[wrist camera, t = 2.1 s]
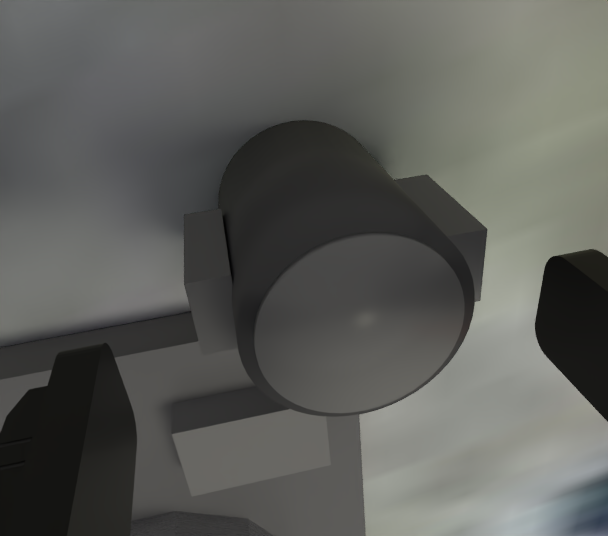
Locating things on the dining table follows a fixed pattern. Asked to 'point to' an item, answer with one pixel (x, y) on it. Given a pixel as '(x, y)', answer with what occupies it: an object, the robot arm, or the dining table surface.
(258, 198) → the domed grey cylinder
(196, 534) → the grey thick ring
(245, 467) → the camera plate
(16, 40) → the dining table surface
